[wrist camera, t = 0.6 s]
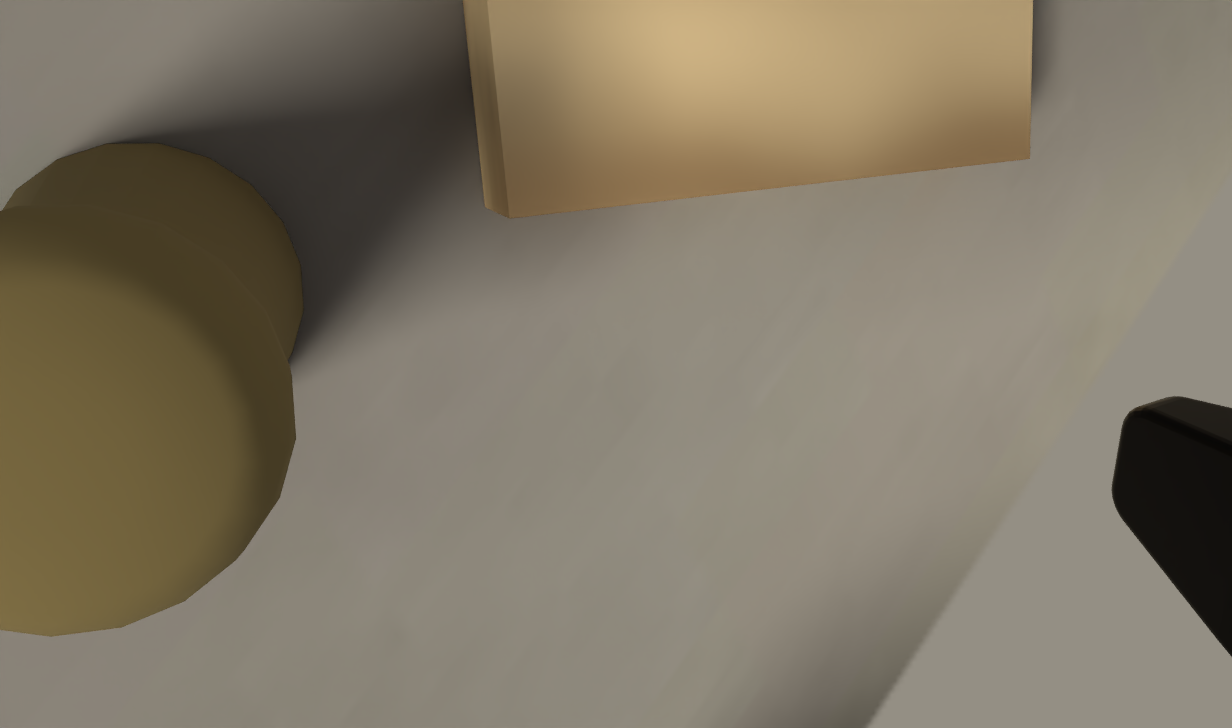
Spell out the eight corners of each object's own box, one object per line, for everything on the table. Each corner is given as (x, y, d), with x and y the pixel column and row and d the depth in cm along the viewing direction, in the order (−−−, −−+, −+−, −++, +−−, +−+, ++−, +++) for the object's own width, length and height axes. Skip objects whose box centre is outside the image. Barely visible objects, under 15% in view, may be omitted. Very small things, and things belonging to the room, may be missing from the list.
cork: (266, 118, 22) (270, 131, 12) (332, 401, 23) (386, 632, 13) (-66, 170, 20) (-402, 239, 10) (30, 470, 22) (-173, 791, 12)
